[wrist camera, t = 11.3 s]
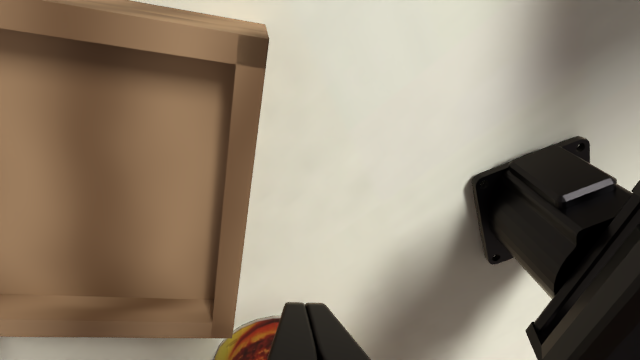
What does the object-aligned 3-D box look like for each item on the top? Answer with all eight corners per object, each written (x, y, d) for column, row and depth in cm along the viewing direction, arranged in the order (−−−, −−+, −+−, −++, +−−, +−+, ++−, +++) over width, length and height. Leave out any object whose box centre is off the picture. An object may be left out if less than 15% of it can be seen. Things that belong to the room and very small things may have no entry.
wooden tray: (269, -9, 16) (274, -3, 13) (232, 299, 24) (229, 357, 20) (-109, -83, 14) (-232, -101, 10) (-21, 292, 21) (-76, 357, 17)
